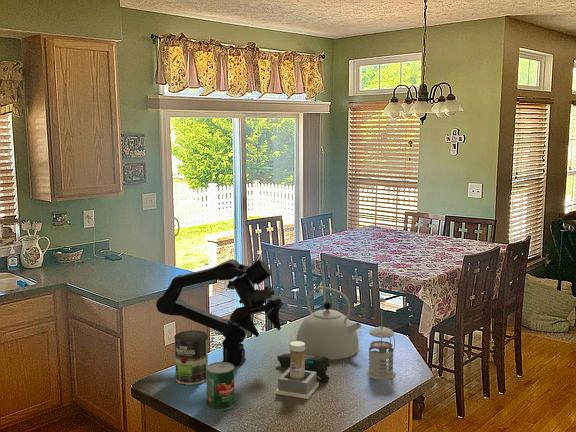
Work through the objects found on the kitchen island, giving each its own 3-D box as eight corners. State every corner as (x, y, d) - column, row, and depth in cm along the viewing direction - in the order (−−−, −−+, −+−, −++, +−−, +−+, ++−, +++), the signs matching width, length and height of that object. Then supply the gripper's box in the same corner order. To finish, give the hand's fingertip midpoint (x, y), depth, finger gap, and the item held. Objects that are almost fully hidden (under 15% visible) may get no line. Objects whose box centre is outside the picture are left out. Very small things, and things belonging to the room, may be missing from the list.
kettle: (375, 346, 212) (376, 286, 209) (345, 366, 193) (345, 300, 190) (316, 334, 226) (317, 277, 223) (283, 351, 207) (283, 289, 205)
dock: (275, 393, 172) (275, 379, 171) (288, 380, 181) (288, 367, 180) (307, 398, 168) (307, 384, 167) (318, 385, 177) (318, 371, 177)
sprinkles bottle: (287, 388, 173) (287, 344, 171) (293, 382, 177) (293, 339, 176) (301, 390, 171) (301, 346, 170) (307, 384, 176) (307, 341, 174)
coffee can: (198, 387, 176) (197, 342, 175) (169, 382, 180) (168, 338, 178) (214, 374, 186) (213, 332, 184) (186, 370, 189) (185, 328, 188)
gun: (324, 383, 178) (316, 351, 179) (282, 386, 192) (275, 356, 193) (333, 379, 181) (326, 347, 182) (292, 382, 195) (285, 353, 197)
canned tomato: (227, 412, 160) (226, 374, 158) (201, 408, 162) (200, 370, 161) (239, 400, 167) (238, 363, 166) (214, 396, 170) (214, 360, 168)
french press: (359, 373, 186) (360, 298, 183) (379, 363, 195) (380, 291, 192) (385, 382, 180) (386, 303, 177) (405, 371, 188) (406, 296, 185)
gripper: (234, 283, 180) (258, 325, 174) (279, 274, 193) (302, 313, 186) (220, 303, 187) (241, 344, 180) (264, 293, 200) (285, 331, 193)
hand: (269, 332), depth 185 cm, fingers open, 9 cm apart
